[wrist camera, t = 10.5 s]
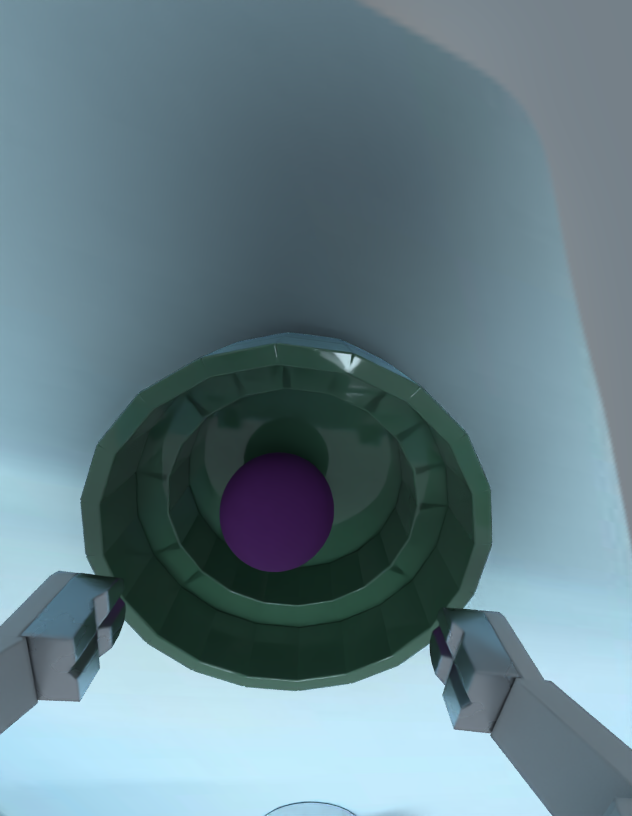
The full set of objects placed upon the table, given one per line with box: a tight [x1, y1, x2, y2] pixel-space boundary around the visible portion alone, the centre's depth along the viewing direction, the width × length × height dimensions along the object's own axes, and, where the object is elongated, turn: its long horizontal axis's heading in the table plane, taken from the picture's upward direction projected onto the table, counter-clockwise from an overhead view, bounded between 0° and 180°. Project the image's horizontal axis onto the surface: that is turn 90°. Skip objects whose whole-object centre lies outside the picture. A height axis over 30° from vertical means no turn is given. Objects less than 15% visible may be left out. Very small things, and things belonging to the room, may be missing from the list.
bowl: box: [80, 332, 492, 691], centre depth 13 cm, size 13×13×5 cm
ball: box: [219, 452, 334, 572], centre depth 13 cm, size 4×4×4 cm
